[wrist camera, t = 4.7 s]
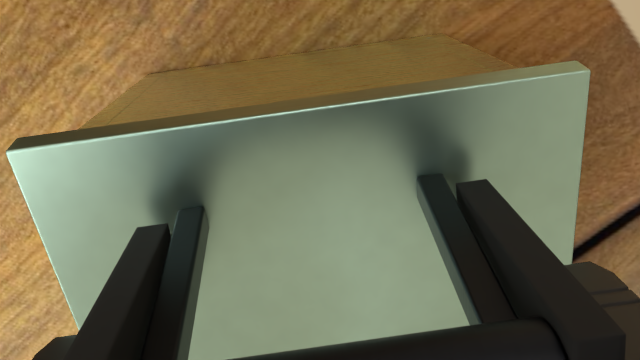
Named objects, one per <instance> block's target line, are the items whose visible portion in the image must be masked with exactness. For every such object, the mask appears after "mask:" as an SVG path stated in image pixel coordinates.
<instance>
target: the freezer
mask: <svg viewBox="0 0 640 360" xmlns="http://www.w3.org/2000/svg"><path fill="white" fill-rule="evenodd" d="M511 69H518V67H516V66H514V65H512V64H509V63H507V62H505V61H503V60H500V59H498V58H496V57H494V56H492V55H489V54H487V53H485V52H483V51H480V50H478V49H476V48H474V47H471V46H469V45H467V44H465V43H463V42H460V41H458V40H456V39H454V38H451V37H449V36H447V35H445V34H443V33H440V34H433V35H425V36H418V37H411V38H404V39H397V40H389V41H382V42H375V43H368V44H361V45H353V46H346V47H339V48H332V49H325V50H317V51H310V52H303V53H296V54H289V55H281V56H274V57H267V58H260V59H253V60H245V61H238V62H231V63H224V64H217V65H210V66H202V67H195V68H188V69H181V70H174V71H166V72H159V73H152V74H148V75H147V76H145V77H144V78H143V79H141V80H140V81H139V82H137V83H136V84H135V85H134V86H132V87H131V88H130V89H129V90H127V91H126V92H125V93H124V94H122V95H121V96H120V97H118V98H117V99H116V100H115V101H113V102H112V103H111V104H110V105H108V106H107V107H106V108H104V109H103V110H102V111H101V112H99V113H98V114H97V115H96V116H94V117H93V118H92V119H90V120H89V121H88V122H87V123H85V124H84V125H83V126H82V127H80V128H79V129H78V130H80V129H87V128H94V127H101V126H108V125H115V124H123V123H130V122H137V121H144V120H151V119H159V118H166V117H173V116H180V115H187V114H195V113H202V112H209V111H216V110H223V109H230V108H238V107H245V106H252V105H259V104H266V103H274V102H281V101H288V100H295V99H302V98H309V97H317V96H324V95H331V94H338V93H345V92H353V91H360V90H367V89H374V88H381V87H388V86H396V85H403V84H410V83H417V82H424V81H432V80H439V79H446V78H453V77H460V76H467V75H475V74H482V73H489V72H496V71H503V70H511Z"/></svg>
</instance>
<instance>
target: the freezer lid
mask: <svg viewBox="0 0 640 360" xmlns="http://www.w3.org/2000/svg"><path fill="white" fill-rule="evenodd" d="M589 82H590V69H588V68H587V67H585V66H584V65H582V64H581V63H580V62H578V61H576V60H575V61H568V62H561V63H554V64H546V65H539V66H532V67H525V68H518V69H511V70H503V71H496V72H489V73H482V74H475V75H467V76H460V77H453V78H446V79H439V80H432V81H424V82H417V83H410V84H403V85H396V86H388V87H381V88H374V89H367V90H360V91H353V92H345V93H338V94H331V95H324V96H317V97H309V98H302V99H295V100H288V101H281V102H274V103H266V104H259V105H252V106H245V107H238V108H230V109H223V110H216V111H209V112H202V113H195V114H187V115H180V116H173V117H166V118H159V119H151V120H144V121H137V122H130V123H123V124H115V125H108V126H101V127H94V128H87V129H80V130H72V131H65V132H58V133H51V134H44V135H36V136H29V137H22V138H17V139H16V140H15V141H14V142H13V143H12V145H11V146H10V147H9V148H8V149H7V150H6V155H7V157H8V160H9V162H10V165H11V167H12V170H13V172H14V174H15V177H16V179H17V182H18V184H19V187H20V189H21V191H22V194H23V196H24V199H25V201H26V203H27V206H28V208H29V211H30V213H31V216H32V218H33V220H34V223H35V225H36V228H37V230H38V233H39V235H40V237H41V240H42V242H43V245H44V247H45V250H46V252H47V254H48V257H49V259H50V262H51V264H52V267H53V269H54V271H55V274H56V276H57V279H58V281H59V284H60V286H61V288H62V291H63V293H64V296H65V298H66V300H67V303H68V305H69V308H70V310H71V313H72V315H73V317H74V320H75V322H76V325H77V327H78V330H80V328H81V327H82V325H83V323H84V321H85V319H86V318H87V316H88V314H89V312H90V311H91V309H92V307H93V305H94V303H95V302H96V300H97V298H98V296H99V294H100V293H101V291H102V289H103V287H104V285H105V284H106V282H107V280H108V278H109V277H110V275H111V273H112V271H113V269H114V268H115V266H116V264H117V262H118V260H119V259H120V257H121V255H122V253H123V251H124V250H125V248H126V246H127V244H128V243H129V241H130V239H131V237H132V235H133V234H134V232H135V230H136V228H137V227H143V226H150V225H157V224H165V223H168V226H169V230H170V234H171V239H170V243H169V247H168V251H167V255H166V259H165V263H164V266H163V270H162V274H161V278H160V282H159V286H158V290H157V294H156V298H155V302H154V305H153V309H152V313H151V317H150V321H149V325H148V329H147V333H146V337H145V340H144V344H143V348H142V352H141V356H140V360H568V358H567V355H566V353H565V351H564V348H563V346H562V344H561V342H560V340H559V338H558V336H557V334H556V332H555V331H554V329H553V328H552V326H551V325H550V324H549V323H548V322H547V321H546V320H545V319H544V318H541V317H538V316H532V317H525V318H518V316H517V315H516V313H515V311H514V309H513V307H512V305H511V303H510V301H509V299H508V297H507V295H506V294H505V292H504V290H503V288H502V286H501V284H500V282H499V280H498V278H497V276H496V274H495V273H494V271H493V269H492V267H491V265H490V263H489V261H488V259H487V257H486V255H485V253H484V252H483V250H482V248H481V246H480V244H479V242H478V240H477V238H476V236H475V234H474V232H473V231H472V229H471V227H470V225H469V223H468V221H467V219H466V217H465V215H464V213H463V211H462V209H461V208H460V206H459V204H458V202H457V196H456V183H461V182H468V181H475V180H482V179H487V180H488V181H489V182H490V183H491V184H492V186H493V187H494V188H495V189H496V190H497V191H498V192H499V193H500V194H501V196H502V197H503V198H504V199H505V200H506V201H507V202H508V203H509V204H510V206H511V207H512V208H513V209H514V210H515V211H516V212H517V213H518V214H519V216H520V217H521V218H522V219H523V220H524V221H525V222H526V223H527V224H528V226H529V227H530V228H531V229H532V230H533V231H534V232H535V233H536V234H537V236H538V237H539V238H540V239H541V240H542V241H543V242H544V243H545V244H546V246H547V247H548V248H549V249H550V250H551V251H552V252H553V253H554V254H555V256H556V257H557V258H558V259H559V260H560V261H561V262H562V263H563V264H564V265H569V264H572V257H573V246H574V236H575V226H576V216H577V205H578V195H579V185H580V175H581V164H582V154H583V144H584V134H585V123H586V113H587V103H588V93H589Z"/></svg>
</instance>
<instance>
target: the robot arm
mask: <svg viewBox="0 0 640 360" xmlns="http://www.w3.org/2000/svg"><path fill="white" fill-rule="evenodd" d="M456 196H457V202H458V204H459V206H460V208H461V209H462V211H463V213H464V215H465V217H466V219H467V221H468V223H469V225H470V227H471V229H472V231H473V232H474V234H475V236H476V238H477V240H478V242H479V244H480V246H481V248H482V250H483V252H484V253H485V255H486V257H487V259H488V261H489V263H490V265H491V267H492V269H493V271H494V273H495V274H496V276H497V278H498V280H499V282H500V284H501V286H502V288H503V290H504V292H505V294H506V295H507V297H508V299H509V301H510V303H511V305H512V307H513V309H514V311H515V313H516V315H517V316H518V318H525V317H532V316H538V317H541V318H544V319H545V320H546V321H547V322H548V323H549V324H550V325H551V326H552V328H553V329H554V331H555V332H556V334H557V336H558V338H559V340H560V342H561V344H562V346H563V348H564V351H565V353H566V355H567V358H568V360H640V298H639V297H638V296H637V295H636V294H635V293H634V292H633V291H631V290H628V287H627V286H626V285H625V284H624V283H623V282H622V281H621V280H620V279H619V278H618V277H617V276H616V275H615V274H614V273H613V272H611V271H609V270H606V269H604V268H602V267H600V266H598V265H596V264H594V263H592V262H583V263H576V264H569V265H564V264H563V263H562V262H561V261H560V260H559V259H558V258H557V257H556V256H555V254H554V253H553V252H552V251H551V250H550V249H549V248H548V247H547V246H546V244H545V243H544V242H543V241H542V240H541V239H540V238H539V237H538V236H537V234H536V233H535V232H534V231H533V230H532V229H531V228H530V227H529V226H528V224H527V223H526V222H525V221H524V220H523V219H522V218H521V217H520V216H519V214H518V213H517V212H516V211H515V210H514V209H513V208H512V207H511V206H510V204H509V203H508V202H507V201H506V200H505V199H504V198H503V197H502V196H501V194H500V193H499V192H498V191H497V190H496V189H495V188H494V187H493V186H492V184H491V183H490V182H489V181H488V180H487V179H482V180H475V181H468V182H461V183H456ZM170 239H171V234H170V230H169V226H168V223H165V224H157V225H150V226H143V227H137V228H136V230H135V232H134V234H133V235H132V237H131V239H130V241H129V243H128V244H127V246H126V248H125V250H124V251H123V253H122V255H121V257H120V259H119V260H118V262H117V264H116V266H115V268H114V269H113V271H112V273H111V275H110V277H109V278H108V280H107V282H106V284H105V285H104V287H103V289H102V291H101V293H100V294H99V296H98V298H97V300H96V302H95V303H94V305H93V307H92V309H91V311H90V312H89V314H88V316H87V318H86V319H85V321H84V323H83V325H82V327H81V328H80V330H79V332H78V334H77V335H71V336H64V337H57V338H55V339H53V340H52V341H51V342H50V343H49V344H47V345H46V346H45V347H44V348H43V349H42V350H40V351H39V352H38V353H37V354H36V355H35V356H34V358H33V359H32V360H140V356H141V352H142V348H143V344H144V340H145V337H146V333H147V329H148V325H149V321H150V317H151V313H152V309H153V305H154V302H155V298H156V294H157V290H158V286H159V282H160V278H161V274H162V270H163V266H164V263H165V259H166V255H167V251H168V247H169V243H170Z"/></svg>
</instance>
